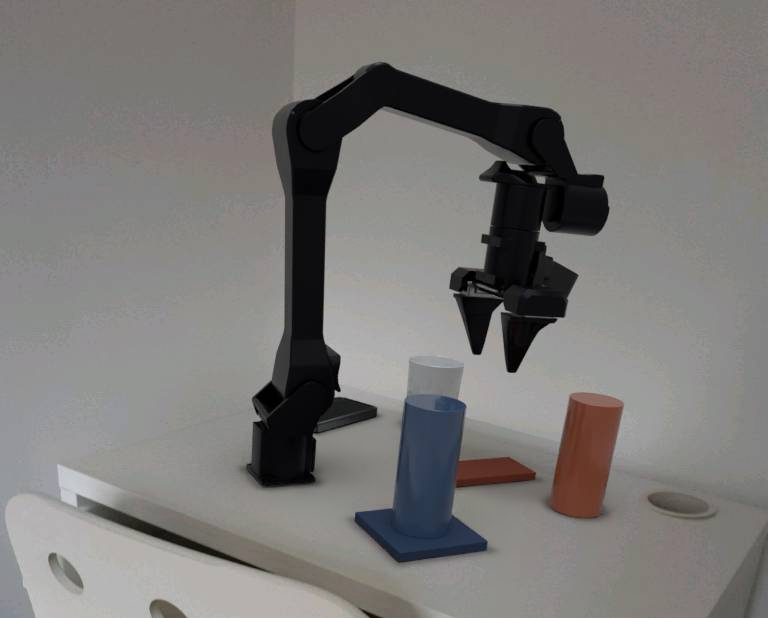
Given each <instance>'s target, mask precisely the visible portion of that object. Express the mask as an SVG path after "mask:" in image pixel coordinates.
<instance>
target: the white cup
mask: <svg viewBox="0 0 768 618" xmlns="http://www.w3.org/2000/svg"><path fill="white" fill-rule="evenodd" d="M464 369H465V362H463V361H461V360H459V359H457V358H453V357H450V356H444V355H438V354H413V355H411V356H409V357H408V369H407V370H408V371H407V383H406V385H407V386H406V397H407V396H410V395H417V394H432V395H440V396H446V397H450V398H454V399H457V400H459V397H460V391H461V385H462V381H463V376H464V375H463V374H464Z"/></svg>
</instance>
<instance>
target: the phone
mask: <svg viewBox="0 0 768 618" xmlns="http://www.w3.org/2000/svg"><path fill="white" fill-rule="evenodd" d="M378 409H379V408H378V407H377V406H375V405H372V404H370V403H369V404H368V403H365V402H362V401H359V400H355V399H351V398H348V397H345V396H335V397H334V403H333V405H332V407H331V408H330V409H328V410H327V411H326V412H325V413H324V414H323V415H322V416H320V419H319V421H318V423H317V425H316V428H315V430H314V432H313V433H320V432H325V431H329V430H332V429H335V428H338V427H342V426H345V425H349V424H352V423H356V422H360V421H363V420H367V419H370V418H374V417H377V416H378Z"/></svg>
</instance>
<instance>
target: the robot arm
mask: <svg viewBox="0 0 768 618" xmlns="http://www.w3.org/2000/svg"><path fill="white" fill-rule="evenodd" d="M380 110H381V111H384V112H387V113H390V114H393V115H396V116H400V117H402V118H405V119H409V120H412V121H415V122H418V123H421V124H425V125H427V126H430V127H434V128H437V129H440V130H443V131H446V132H449V133H452V134H456V135H458V136H462V137H464V138H467V139H469V140H471V141H472V142H474V143H476V144H477V145H478V146H480V147H481V148H482V149H483V150H485V151H486V152H488V153H490V154H492V155H493V156H495V157H496V158H498V159H500V160H495V161H494V162H493V164H492V165H491V166H490V167H489V168H487V169H486V170H485V171H483V172H481V173H480V174H479V175H478V180H479V181H480V182H485V183H491V184H492V183H493V184H496V185H495V190H494V196H493V197H494V198H493V205H492V210H491V218H490V225H489V230H488V233H481V238H480V243H481V244H484V245H486V249H485V250H486V252H485V258H484V263H483V268H479V267H466V266H465V267H464V266H458V267H457V268H455V270H453V271H452V272H451V273H450V277H449V278H450V279H449V285H448V287H449V288H448V289H449V290H451V291H454V292H453V294H452V297H453V298H454V299H455V301H456V305H457V308H458V311H459V314H460V317H461V320H462V323H463V327H464V329H465V333H466V336H467V341H468V343H469V348H470V350H471V354H472V355H474V356H481V355H482V353H483V350H484V348H485V345H486V340H487V336H488V332H489V328H490V324H491V320H492V315H493V313H494V311H496V310H497V309H498V307H500V306H501V304H503V308H504V311H500V323H501V332H502V333H501V335H502V343H503V344H502V345H503V354H504V363H505V370H506V372H507V373H508V374H515V373H517V372H518V370H519V368H520V366H521V364H522V363H523V361H524V359H525V357H526V355H527V353H528V351H529V349H530V347H531V345H532V343H533V341H534V340H535V339H536V337H537V335H538V333H539V332H540V331H541V330H543V329H545V328H546V327H548V326H549V325H551V324H556V323H557V321H558V320H559V319H564V318H566V316H567V310H568V304H569V296H570V294H571V292H572V290H573V288H574V286H575V284H576V282H577V280H578V278H579V276H580V275H579V274H578V273H577V272H575V271H573V270H571V269H570V268H568V267H566V266H564V265H563V264H561V263H559V262H557V261H555V260H554V257H553V256H550V255H547V248H548V246H547V245H546V241H542V240H539V239H540V234H541V227H542V225H543V227H544V229H545V230H546V231H547V232H548V233H555V234H556V233H557V234H565V235H575V236H585V237H594V236H596V235H598V234H599V233H600V232H601V231H602V230H603V229H604V228H605V225H606V223H607V221H608V218H609V214H610V209H611V207H610V205H609V195H608V192H607V190H606V189H605V187H604V182H605V175H604V174H597V173H578V170H577V167H576V165H575V163H574V162H575V161H574V160H573V157H572V155H571V151H570V149H569V146H568V144H567V142H566V138H565V136H566V135H565V126H564V123H563V121H562V116H561V114H559V112H558V111H556V110H554V109H553V108H551V107H547V106H546V107H545V106H537V105H529V104H521V103H506V102H496V101H495V102H494V101H490V100H487V99H484V98H481V97H478V96H476V95H472V94H469V93H467V92H465V91H461V90H458V89H455V88H452V87H449V86H446V85H443V84H440V83H438V82H435V81H432V80H429V79H426V78H423V77H421V76H418V75H415V74H413V73H412V74H411V73H409V72H406V71H402V70H400V69H397V68H395V67H394V66H392V65H391V63H388V62H384V61H376V62H373V63H369V64H366V65H363V66H361V67H360V68H358V69H357V70H356V71H355V73H353V74H351V76H349V77H347V78H345V79H344V80H343V81H341V82H338V83H337V84H335V85H334V86H332V87H330V88H329V89H327V90H326V91H324V92H322V93H320V94H319V95H317V96H315V97H314V98H309V99H302V100H296V101H292V102H291V101H290V102H289V103H287V104H285V105H283V106H282V107H281V108H280V109H279V110H278V111H277V112H276V114H275V115H274V117H273V120H272V126H271V139H272V144H273V150H274V157H275V163H276V164H275V165H276V167H277V170H278V175H279V179H280V183H281V186H282V190H283V196H284V291H283V292H284V293H283V294H284V296H283V297H284V304H283V305H284V308H283V309H284V310H283V311H284V312H283V315H284V316H283V318H284V319H283V321H284V322H283V332H282V335H281V338H280V341H279V345H278V348H277V350H276V353H275V357H274V362H273V363H274V364H273V369H272V374H271V375H272V376H271V380H269V382H267V383H266V384H265V385H264V386H263V387H262V388H261V389H260V390H258V391H257V392H256V393H255V394H254V395H253V396H252V397H251V403H252V405H253V409H254V411H255V414H256V415H257V416H258V418H259V419H260V420H259V421H258V420H257V421H256V420H255V421H253V422H252V433H251V434H252V436H251V462H247V463H246V464H245V469H246V470H247V471H248V472H249V473H250V474H251V475H252V476H253V478H255V480H256V481H257V482H258V483H259V484H260V485H261V486H263V487H275V486H276V487H277V486H288V485H298V484H299V485H300V484H310V483H316V482H317V477H316V476H315V475H314V474H312V473H314V472H315V467H316V455H317V454H316V453H317V439H316V437H315V436H314V433H315V432H314V430H315V428H316V425H317V423H318V421H319V419H320V416H322V415H323V414H324V413H325V412H326V411H327V410H328V409H330V408H331V407H332V405H333V403H334V398H335V397H336V392H337V393H341V392H342V388H341V387H340V383H339V374H340V367H341V359H342V357H341V354H339V353H338V352H337V351H335V349H333V348H332V347H331V346H330V345H328V344H327V343H326V341H325V336H324V319H325V318H324V317H325V316H324V315H325V314H324V313H325V278H326V277H325V276H326V274H325V273H326V272H325V271H326V234H327V200H328V196H329V193H330V190H331V187H332V184H333V181H334V179H335V176H336V173H337V170H338V164H339V159H340V155H341V150H342V144H343V138H344V137H346V136H347V135H349V134H351V133H352V132H353V131H355V130H356V129H358V128H359V127H361V126H362V125H363V124H364V123H365V122H367V121H368V120H369V119H370V118H371V117H372V116H374V115H375V114H376V113H377V112H378V111H380ZM508 164H511V165H517V166H518V167H519V168H520V169H513V168H511V167H510V166H509V165H508ZM537 177H538V178H544V183H542V182H538V179H537Z"/></svg>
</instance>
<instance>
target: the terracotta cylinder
mask: <svg viewBox="0 0 768 618" xmlns="http://www.w3.org/2000/svg"><path fill="white" fill-rule="evenodd" d="M624 407H625V402H624V401H623V400H621V399H619V398H616V397H615V396H614V397H613V396H610V395H607V394H601V393H596V392H595V393H594V392H584V391H583V392H582V391H580V392H571V393H570V394H569V395H568V399H567V405H566V411H565V415H564V422H563V426H562V431H561V437H560V441H559V442H560V443H559V448H558V454H557V458H556V463H555V470H554V473H553V474H554V475H553V480H552V486H551V490H550V497H549V502H548V504H549V506H550V508H551V509H553V510H554V511H555V512H558V513H560V514H562V515H565V516H569V517H573V518H580V519H592V518H596V517H598V516H600V515H601V514H602V511H603V506H604V501H605V497H606V492H607V488H608V484H609V483H608V482H609V477H610V475H611V474H610V473H611V469H612V464H613V459H614V455H615V450H616V445H617V441H618V436H619V431H620V426H621V422H622V418H623V417H622V416H623V412H624Z"/></svg>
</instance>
